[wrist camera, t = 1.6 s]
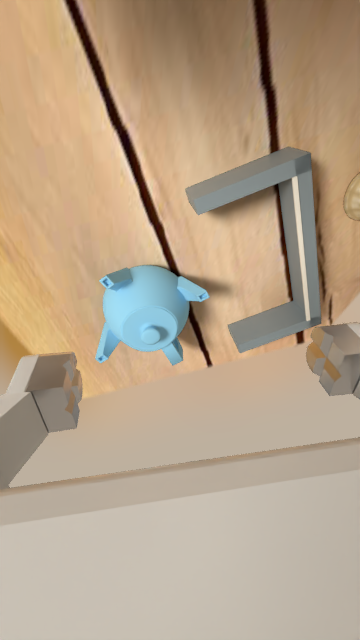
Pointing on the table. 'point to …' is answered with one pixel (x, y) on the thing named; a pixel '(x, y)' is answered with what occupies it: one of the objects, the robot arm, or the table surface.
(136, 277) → the teapot
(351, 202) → the hand bell
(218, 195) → the bracket
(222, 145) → the table surface
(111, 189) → the table surface
